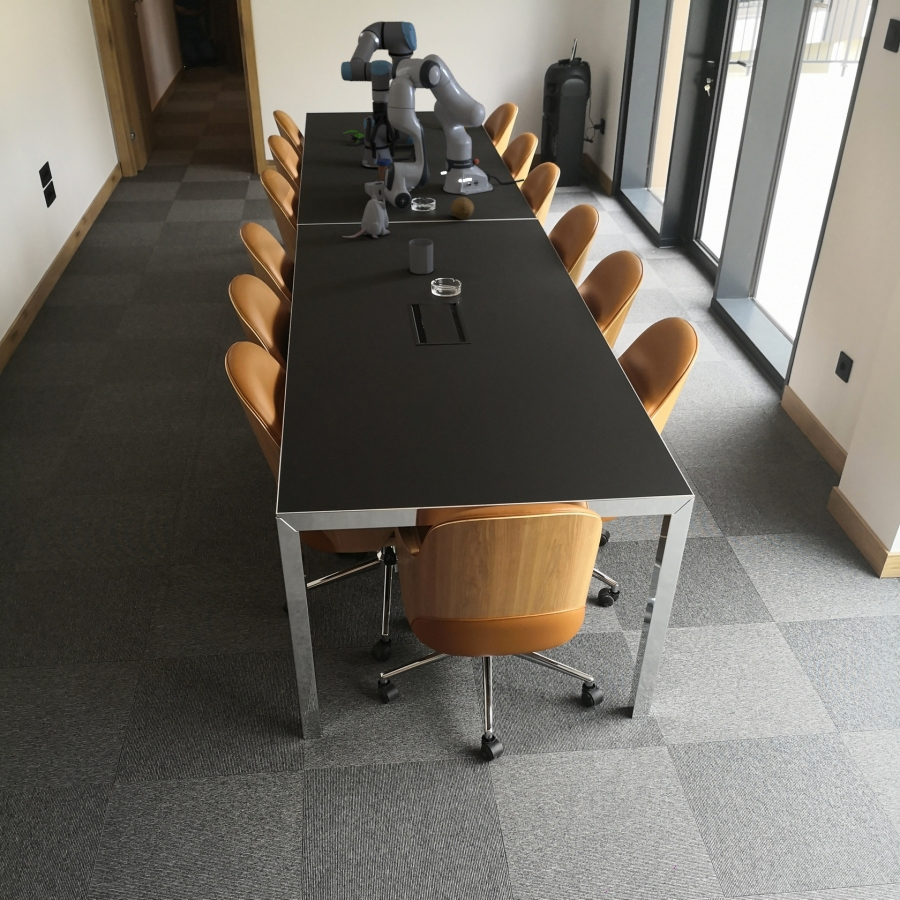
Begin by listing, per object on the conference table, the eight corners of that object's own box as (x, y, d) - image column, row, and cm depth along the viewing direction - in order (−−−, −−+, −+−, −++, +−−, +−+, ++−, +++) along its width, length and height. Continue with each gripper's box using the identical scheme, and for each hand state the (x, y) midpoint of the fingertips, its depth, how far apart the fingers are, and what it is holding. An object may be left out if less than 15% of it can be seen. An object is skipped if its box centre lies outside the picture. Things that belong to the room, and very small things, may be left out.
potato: (472, 212, 364) (472, 193, 359) (475, 223, 352) (475, 203, 348) (449, 213, 363) (449, 193, 359) (451, 223, 351) (451, 204, 347)
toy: (395, 233, 341) (394, 195, 333) (350, 248, 327) (348, 209, 318) (380, 228, 346) (378, 190, 338) (334, 242, 332) (332, 203, 324)
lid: (376, 162, 378) (375, 158, 377) (389, 162, 378) (389, 158, 378) (377, 166, 373) (377, 162, 372) (391, 165, 373) (391, 161, 373)
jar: (378, 195, 385) (377, 160, 377) (390, 194, 386) (388, 159, 377) (379, 198, 381) (378, 163, 372) (391, 198, 381) (390, 162, 373)
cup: (409, 265, 311) (408, 238, 306) (432, 265, 312) (431, 238, 307) (410, 274, 304) (409, 246, 299) (433, 273, 305) (433, 246, 299)
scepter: (398, 127, 467) (342, 124, 464) (398, 142, 460) (341, 139, 457) (398, 136, 472) (342, 134, 469) (398, 151, 464) (341, 149, 462)
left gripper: (400, 97, 368) (401, 152, 380) (354, 101, 360) (357, 157, 372) (407, 100, 363) (408, 156, 375) (361, 104, 355) (364, 161, 367)
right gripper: (415, 180, 371) (406, 172, 382) (369, 185, 365) (361, 176, 376) (415, 195, 374) (406, 186, 385) (370, 200, 368) (361, 191, 379)
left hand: (383, 157), depth 374 cm, fingers open, 8 cm apart
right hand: (383, 181), depth 380 cm, fingers closed on jar, 5 cm apart
